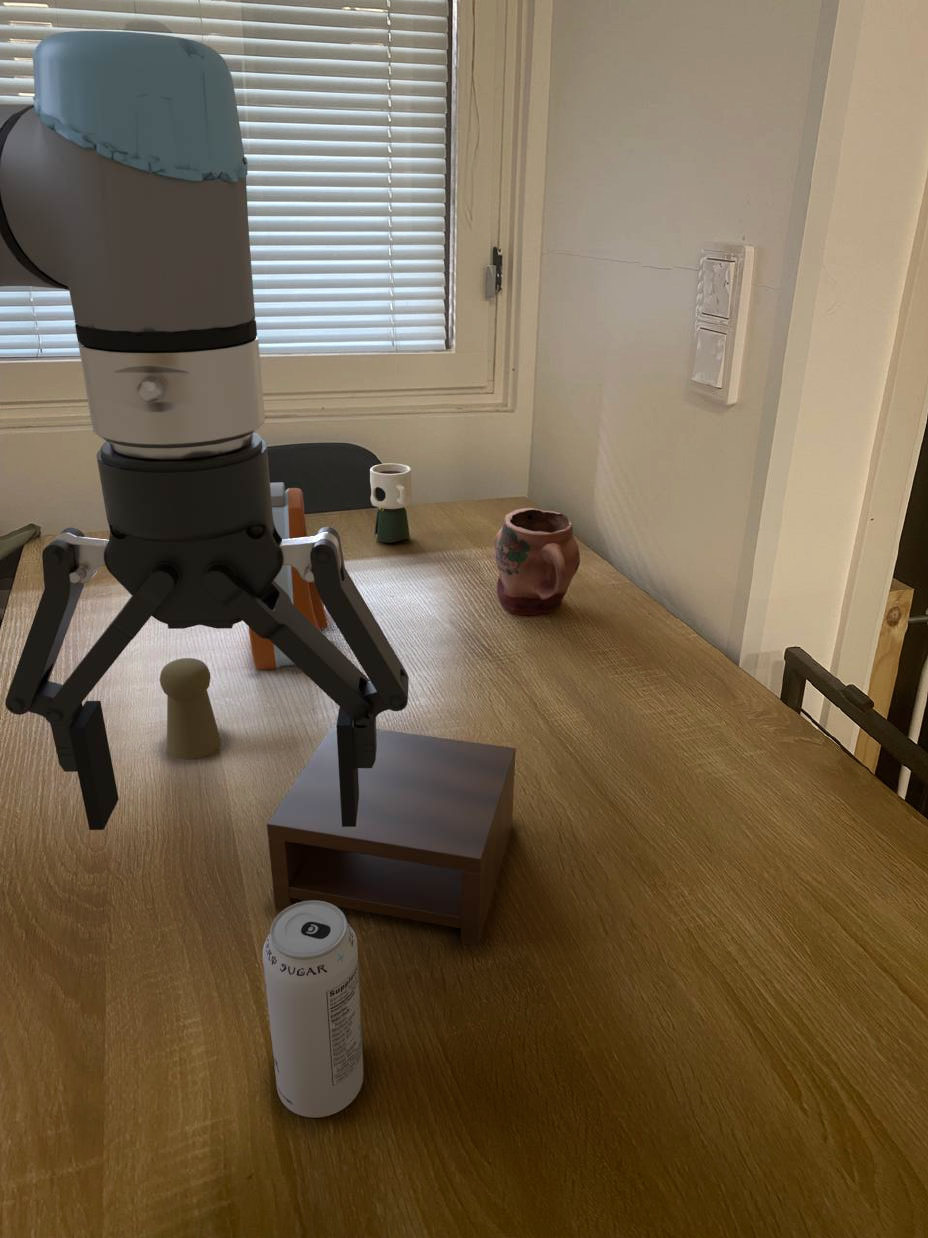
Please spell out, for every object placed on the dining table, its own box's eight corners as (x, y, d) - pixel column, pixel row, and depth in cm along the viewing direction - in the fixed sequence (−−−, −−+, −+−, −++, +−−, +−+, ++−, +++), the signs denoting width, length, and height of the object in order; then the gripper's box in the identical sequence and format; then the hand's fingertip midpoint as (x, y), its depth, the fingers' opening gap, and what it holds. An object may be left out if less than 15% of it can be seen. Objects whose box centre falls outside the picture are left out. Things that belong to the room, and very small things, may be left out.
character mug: (361, 532, 165) (359, 463, 159) (397, 527, 168) (396, 458, 162) (386, 552, 156) (384, 479, 151) (423, 546, 159) (422, 474, 154)
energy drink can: (301, 1041, 68) (287, 885, 61) (376, 1063, 66) (370, 905, 59) (262, 1113, 62) (242, 951, 56) (343, 1138, 61) (332, 974, 54)
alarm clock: (333, 681, 116) (323, 512, 106) (254, 686, 114) (237, 516, 105) (327, 608, 136) (319, 460, 126) (260, 612, 134) (246, 462, 124)
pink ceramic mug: (603, 629, 131) (611, 538, 125) (526, 642, 127) (531, 549, 121) (541, 577, 148) (546, 495, 141) (472, 587, 143) (473, 503, 137)
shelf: (478, 954, 75) (480, 859, 71) (275, 916, 79) (266, 824, 75) (511, 833, 90) (515, 747, 85) (338, 805, 93) (334, 722, 89)
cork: (220, 732, 105) (210, 647, 100) (225, 761, 100) (214, 673, 95) (165, 740, 103) (153, 655, 98) (167, 770, 98) (154, 681, 93)
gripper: (-145, 458, 38) (-31, 861, 47) (457, 459, 39) (453, 854, 48) (-58, 416, 44) (27, 775, 54) (453, 418, 45) (450, 771, 55)
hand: (228, 813), depth 51 cm, fingers open, 13 cm apart
